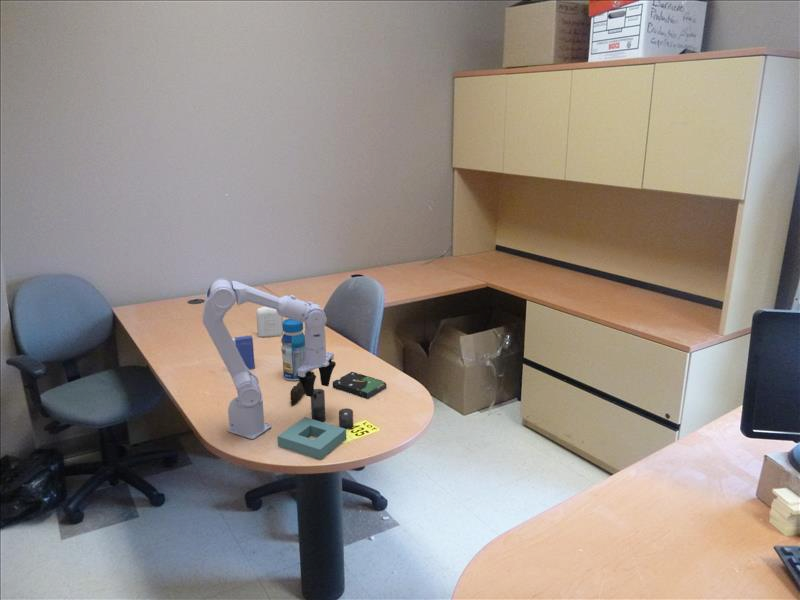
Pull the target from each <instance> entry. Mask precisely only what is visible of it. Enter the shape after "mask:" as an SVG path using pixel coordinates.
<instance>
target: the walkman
mask: <svg viewBox="0 0 800 600" xmlns="http://www.w3.org/2000/svg"><path fill="white" fill-rule="evenodd" d="M232 339H233V341H234V343H235V345H236V347H237V349H238V351H239V353H240V355H241V357H242V359H243V361H244V363H245V365H246V366H247V367H248V369H249V371H250V370H255V369H256V368H255V367H256V366H255V355H254V338H253V336H252V335H249V334H247V335H246V334H245V335H244V336H243V335H242V336H237V337H236V336H235V337H232Z"/></svg>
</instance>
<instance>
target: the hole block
mask: <svg viewBox="0 0 800 600" xmlns="http://www.w3.org/2000/svg"><path fill="white" fill-rule="evenodd" d="M310 436H312V437H316V438H315V439H312V438H309V437H310ZM276 439H277V446H278V447H280V448H283V449H286V450H289V451H292V452H296V453H298V454H302V455H304V456H307V457H310V458H314V459H317V460H320V461H321V460H322V459H324V457H326V456H327V455H328V454H330V453H331V452H332V451H333V450H334V449H336V448H337V447H338V446H340V444H342V443H343V442H344V441H345V440H347V429H344V428H341V427H339V426H338V425H333V424H331V423H330V424H329V423H326V422H325V421H324V422H320V421H317V420H313V419H312V418H309V417H306V416H304V417H302V419H300V420H299V421H297V422H296V423H294V424H293V425H292V426H290V427H288V428H287V429H286V430H283V432H282V433H280V434H278V435H277V438H276Z"/></svg>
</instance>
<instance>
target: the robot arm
mask: <svg viewBox="0 0 800 600" xmlns="http://www.w3.org/2000/svg"><path fill="white" fill-rule="evenodd" d="M235 303H236V305H237V307H238V306H240V305H242V304H245V303H252V304H256V305H259V306H262V307H265V306H266V307H269V308H273V309H276V310H277V312H278V314H279V315H280V316H283V318H286V319H292V320H295V321H298V322H303V323H304V335H305V352H306V361H305V362H304V363H303V365H302V366H301V367H300V368H299V369H298V372H297V373H296V374H297V378H298V379H299V380H300V382H301V384H302V386H303V388H304V391H305V392H304V395H305V396H306V397H310V398H311V397H312V396H313V393H314V389H315V387H314V386H315V382H316V378H317V375H316V374H315V375H312V373H310V371H311V372H313V371H314V370H316V369H318V371H319V378H320V384H321V386H324V387H329V385H330V382H331V378H332V373H333V370H334V369H335V367H336V366H337V365H336V361H333V360H334V359H335V358H334V357H335V354H334V353H333V352H329V351H328V352H327V347H326V346H327V345H326V340H327V339H326V329H325V327H326V326H325V325H326V324H327V321H328V318H327V316H326V315H327V314H326V313H325V311H324V310H323V308H322V306H321V305H319V304H317V303H316V302H315V301H313V302H312V301H309V300H308V301H304V300H300V299H298V298H297V297H296V295H293V294H290V295H283V296H280V297H278V296H276V295H272V294H270V293H268V292H265V291H263V290H260V289H258V288H255V287H252V286H250V285H246V283H245V284H244V283H242V282H240V281H236V280H230V279H228V278H225V277H219V278H216V279H214V280H213V281H212V282H211V283H210V285H209V286H208V288H207V290H206V292H205V298H204V305H203V312H202V316H201V318H202V324H203V325H204V327H205V329H206V331H207V333H208V335H209V337H210V338H211V341H212V343H213V345H214V346H215V348H216V350H217V352H218V354H219V356H220V359H221V360H222V362H223V364H224V365H225V367H226V369H227V371H228V373H229V374H230V377H231V378H232V382H233V384H234V388H235V390H236V392H237V397H234V398H233V399H232V400H231V401H230V402H229V404H228V408H227V415H228V425H229V428H228V429H227V432H229V433H232V434H234V435H238V436H241V437H244V438H248V439H250V440H254V439H256V438H257V437H259V436H261V435H262V434H263V433H265V432H266V431H268V430H269V429H272V425H271V424H267V423H265V413H264V399H263V397H262V396H263V394H262V391H261V388H260V385H259V384H260V382H259V379H258V377H257V376H256V375H255V374H253V373H252V372H251V371H250V370H249V369H248V367H247V366H246V365H245V363H244V361H243V359H242V357H241V355H240V353H239V351H238V349H237V347H236V345H235V343H234V341H233V339H232V338H233V337H232V336H231V333H230V332H229V329H228V328H227V326H226V323H225V322H224V318H225V316H226V314H227V312H229V310H231V309H232V307H234V305H235ZM299 380H298V381H299Z"/></svg>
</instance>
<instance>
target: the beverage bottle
mask: <svg viewBox="0 0 800 600" xmlns="http://www.w3.org/2000/svg"><path fill="white" fill-rule="evenodd" d="M282 325H283V335H282V336H281V340H280V341H281V342H280V343H282V345H281V346H280V347H281V356H282V370H283V373H282V374H283V378H284V379H285V380H287V381H292V382H293V381H296V382H297V381H299V379H298V378H297V374H296V373H297V372H298V369H299V368H300V367H301V366H302V365H303V363H304V362H305V361H306V352H305V333H304V332H303V330H304V322H298V321H295V320H292V319H289V318H286V319H283V323H282Z"/></svg>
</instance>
